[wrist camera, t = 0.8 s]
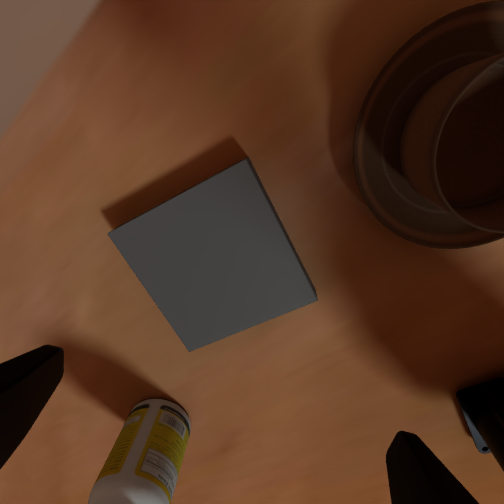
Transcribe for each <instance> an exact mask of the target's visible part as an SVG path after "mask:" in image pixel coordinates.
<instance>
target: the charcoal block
mask: <svg viewBox="0 0 504 504" xmlns="http://www.w3.org/2000/svg"><path fill="white" fill-rule="evenodd" d="M108 235H109V237H110V238H111V240H112V241H113V243H114V244H115V246H116V247H117V248H118V250H119V251H120V253H121V254H122V256H123V257H124V259H125V260H126V261H127V263H128V264H129V266H130V267H131V269H132V270H133V272H134V273H135V274H136V276H137V277H138V279H139V280H140V282H141V283H142V285H143V286H144V287H145V289H146V290H147V292H148V293H149V295H150V296H151V298H152V299H153V300H154V302H155V303H156V305H157V306H158V308H159V309H160V310H161V312H162V313H163V315H164V316H165V318H166V319H167V321H168V322H169V323H170V325H171V326H172V328H173V329H174V331H175V332H176V334H177V335H178V336H179V338H180V339H181V341H182V342H183V344H184V345H185V347H186V348H187V349H188V351H189V352H190V351H192V350H195V349H197V348H200V347H202V346H205V345H207V344H210V343H212V342H215V341H217V340H220V339H222V338H225V337H227V336H230V335H233V334H235V333H238V332H240V331H243V330H245V329H248V328H250V327H253V326H255V325H258V324H260V323H263V322H265V321H268V320H270V319H273V318H275V317H278V316H280V315H283V314H285V313H288V312H290V311H293V310H295V309H298V308H300V307H303V306H305V305H308V304H310V303H313V302H315V301H318V299H317V294H316V289H315V287H314V285H313V283H312V281H311V279H310V277H309V276H308V274H307V272H306V270H305V268H304V266H303V264H302V262H301V260H300V258H299V256H298V254H297V252H296V250H295V248H294V246H293V244H292V242H291V240H290V238H289V236H288V234H287V232H286V230H285V228H284V226H283V224H282V222H281V220H280V218H279V216H278V214H277V212H276V210H275V208H274V206H273V204H272V202H271V200H270V198H269V196H268V194H267V192H266V191H265V189H264V187H263V185H262V183H261V181H260V179H259V177H258V175H257V173H256V171H255V169H254V167H253V165H252V163H251V161H250V159H249V157H246V158H245V159H243V160H241V161H239V162H237V163H235V164H233V165H232V166H230V167H228V168H226V169H224V170H222V171H220V172H219V173H217V174H215V175H213V176H211V177H209V178H207V179H206V180H204V181H202V182H200V183H198V184H196V185H194V186H193V187H191V188H189V189H187V190H185V191H183V192H182V193H180V194H178V195H176V196H174V197H172V198H170V199H169V200H167V201H165V202H163V203H161V204H159V205H157V206H156V207H154V208H152V209H150V210H148V211H146V212H144V213H143V214H141V215H139V216H137V217H135V218H133V219H131V220H130V221H128V222H126V223H124V224H122V225H120V226H119V227H117V228H115V229H114V230H112V231H111V232H109V233H108Z"/></svg>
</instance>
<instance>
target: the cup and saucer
mask: <svg viewBox="0 0 504 504" xmlns="http://www.w3.org/2000/svg"><path fill="white" fill-rule="evenodd" d="M353 161H354V169H355V175H356V179H357V183H358V186H359V189H360V192H361V194H362V196H363V198H364V200H365V202H366V204H367V205H368V207H369V209H370V210H371V211H372V213H373V214H374V215H375V216H376V218H377V219H378V220H379V221H380V222H381V223H382V224H383V225H384V226H386V227H387V228H388V229H389V230H391V231H392V232H394V233H395V234H397V235H398V236H400V237H402V238H404V239H406V240H408V241H411V242H413V243H416V244H420V245H423V246H427V247H433V248H443V249H459V248H468V247H474V246H479V245H483V244H487V243H490V242H493V241H496V240H499V239H501V238H504V0H500V1H490V2H484V3H479V4H475V5H472V6H468V7H465V8H462V9H460V10H457V11H454V12H452V13H450V14H448V15H446V16H444V17H442V18H440V19H438V20H436V21H435V22H433V23H431V24H430V25H428V26H427V27H425V28H424V29H422V30H421V31H420V32H418V33H417V34H416V35H414V36H413V37H412V38H411V39H410V40H409V41H407V42H406V43H405V44H404V45H403V46H402V47H401V48H400V49H399V50H398V51H397V52H396V53H395V54H394V55H393V56H392V57H391V59H390V60H389V61H388V62H387V64H386V65H385V66H384V67H383V69H382V70H381V72H380V73H379V75H378V76H377V78H376V79H375V81H374V83H373V84H372V86H371V88H370V90H369V92H368V94H367V96H366V98H365V100H364V103H363V105H362V108H361V111H360V114H359V117H358V121H357V125H356V130H355V136H354V146H353Z"/></svg>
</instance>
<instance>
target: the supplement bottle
mask: <svg viewBox="0 0 504 504" xmlns="http://www.w3.org/2000/svg"><path fill="white" fill-rule="evenodd" d="M190 429H191V424H190V420H189V417H188V415H187V414H186V412H185V411H184V410H183V409H182V408H181V407H179V406H178V405H177V404H175V403H173V402H170V401H167V400H163V399H148V400H145V401H142V402H140V403H138V404H137V405H136V406H135V407H134V408H133V409H132V411H131V412H130V414H129V416H128V418H127V420H126V422H125V424H124V426H123V428H122V430H121V432H120V434H119V436H118V438H117V440H116V442H115V444H114V446H113V448H112V450H111V452H110V454H109V456H108V458H107V460H106V462H105V464H104V466H103V468H102V470H101V472H100V474H99V476H98V478H97V480H96V482H95V484H94V486H93V488H92V490H91V493H90V496H89V501H88V504H171V500H172V497H173V493H174V490H175V486H176V482H177V478H178V475H179V471H180V468H181V464H182V460H183V457H184V453H185V450H186V446H187V442H188V438H189V435H190Z"/></svg>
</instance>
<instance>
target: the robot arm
mask: <svg viewBox="0 0 504 504" xmlns="http://www.w3.org/2000/svg"><path fill="white" fill-rule="evenodd" d="M63 372H64V351H63V349H62V348H61V347H57V346H53V345H44V346H41V347H39V348H37V349H34V350H32V351H29V352H27V353H25V354H22V355H20V356H17V357H15V358H13V359H10V360H8V361H6V362H3V363H1V364H0V469H1V468H2V467H3V465H4V464H5V463H6V461H7V460H8V459H9V458H10V456H11V455H12V454H13V452H14V451H15V450H16V448H17V447H18V446H19V444H20V443H21V442H22V440H23V439H24V438H25V436H26V435H27V433H28V432H29V430H30V429H31V427H32V425H33V424H34V422H35V421H36V419H37V418H38V416H39V414H40V413H41V411H42V410H43V408H44V406H45V405H46V403H47V402H48V400H49V398H50V397H51V395H52V394H53V392H54V391H55V389H56V387H57V386H58V384H59V383H60V381H61V379H62V376H63ZM464 396H465V397H464ZM456 398H457V401H458V403H459V406H460V408H461V411H462V413H463V416H464V418H465V421H466V423H467V426H468V428H469V431H470V433H471V436H472V438H473V441H474V443H475V446H476V447H477V449H478V451H479V452H480V453H490V452H492V454H493V455H494V457H495V459H496V460H497V462H498V463H499V465H500V466H501V468H502V469H503V471H504V377H501V378H498V379H495V380H491V381H488V382H485V383H481V384H478V385H475V386H471V387H468V388H465V389H461V390H459V391H458V392H457V393H456ZM386 465H387V472H388V480H389V487H390V495H391V502H392V504H479V503H478V502H477V501H476V500H475V498H474V497H473V496H472V495H471V494H470V493H469V492H468V491H467V490H466V489H465V487H464V486H463V485H462V484H461V483H460V482H459V481H458V480H457V479H456V478H455V476H454V475H453V474H452V473H451V472H450V471H449V470H448V469H447V468H446V467H445V465H444V464H443V463H442V462H441V461H440V460H439V459H438V458H437V457H436V456H435V454H434V453H433V452H432V451H431V450H430V449H429V448H428V447H427V446H426V445H425V443H424V442H423V441H422V440H421V439H420V438H419V437H418V436H417V435H416V434H413V433H409V432H405V431H399V432H398V433H397V434H396V436H395V438H394V439H393V441H392V443H391V445H390V447H389V448H388V450H387V454H386Z"/></svg>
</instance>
